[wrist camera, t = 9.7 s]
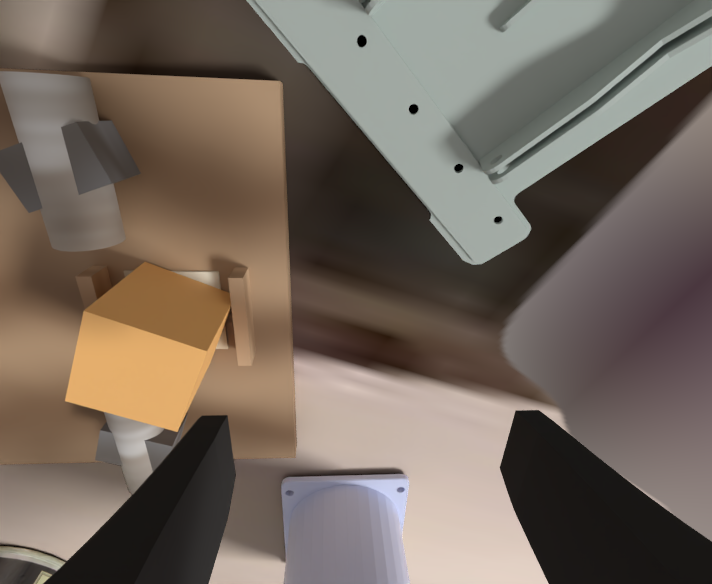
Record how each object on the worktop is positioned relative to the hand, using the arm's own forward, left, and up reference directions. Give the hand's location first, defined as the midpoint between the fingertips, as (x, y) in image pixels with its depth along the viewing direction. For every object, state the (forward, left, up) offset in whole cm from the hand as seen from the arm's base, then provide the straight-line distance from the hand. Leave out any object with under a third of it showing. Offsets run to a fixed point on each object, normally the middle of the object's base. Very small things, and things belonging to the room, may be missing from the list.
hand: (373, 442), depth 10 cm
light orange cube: (-1, +8, -9) cm, 12 cm away
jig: (-1, +12, -10) cm, 16 cm away
